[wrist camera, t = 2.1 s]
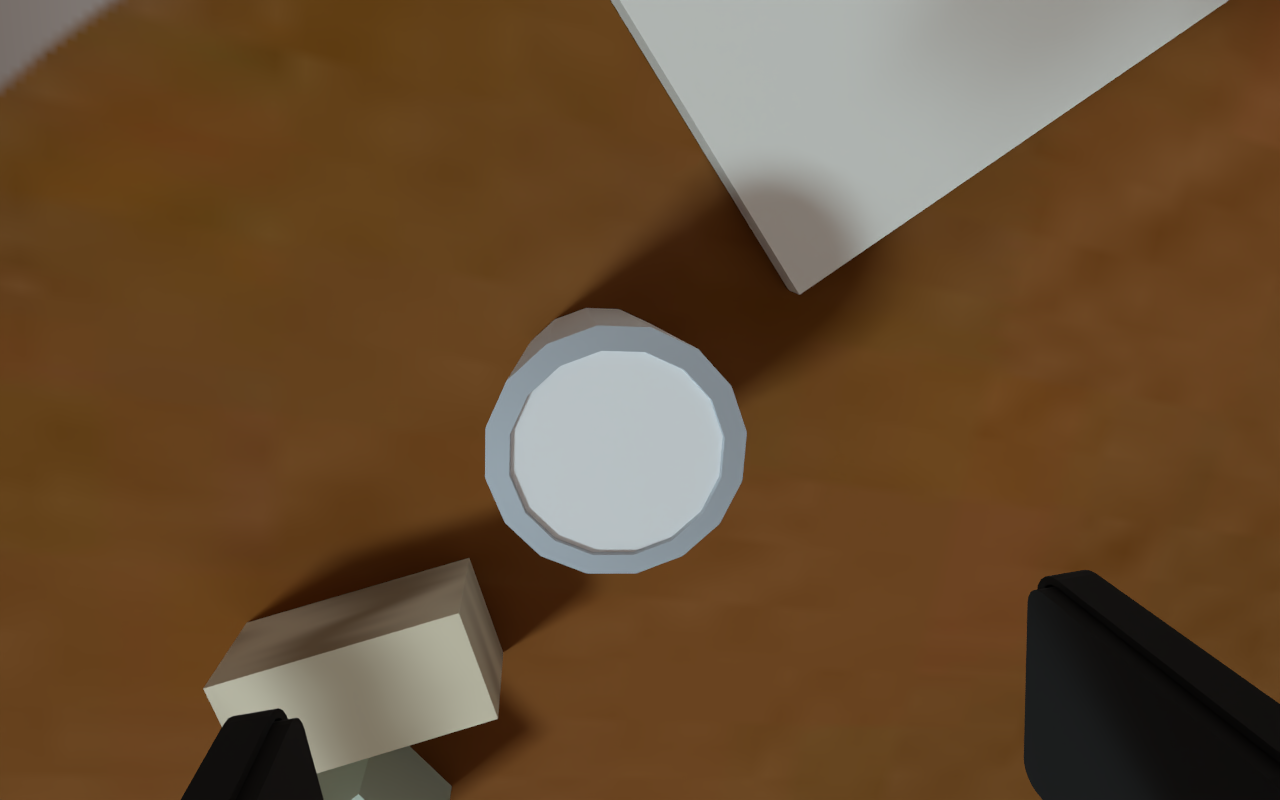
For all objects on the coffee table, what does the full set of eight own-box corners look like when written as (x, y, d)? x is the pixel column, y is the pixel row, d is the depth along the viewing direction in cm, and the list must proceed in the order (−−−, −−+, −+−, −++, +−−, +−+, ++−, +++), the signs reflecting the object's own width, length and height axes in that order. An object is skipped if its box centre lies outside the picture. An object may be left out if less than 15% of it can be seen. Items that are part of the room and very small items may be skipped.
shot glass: (709, 465, 29) (760, 552, 22) (517, 499, 28) (509, 599, 21) (685, 273, 27) (733, 304, 20) (478, 305, 26) (457, 348, 20)
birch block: (469, 555, 29) (459, 613, 25) (503, 649, 30) (498, 718, 26) (248, 619, 28) (203, 688, 25) (291, 713, 30) (254, 792, 26)
